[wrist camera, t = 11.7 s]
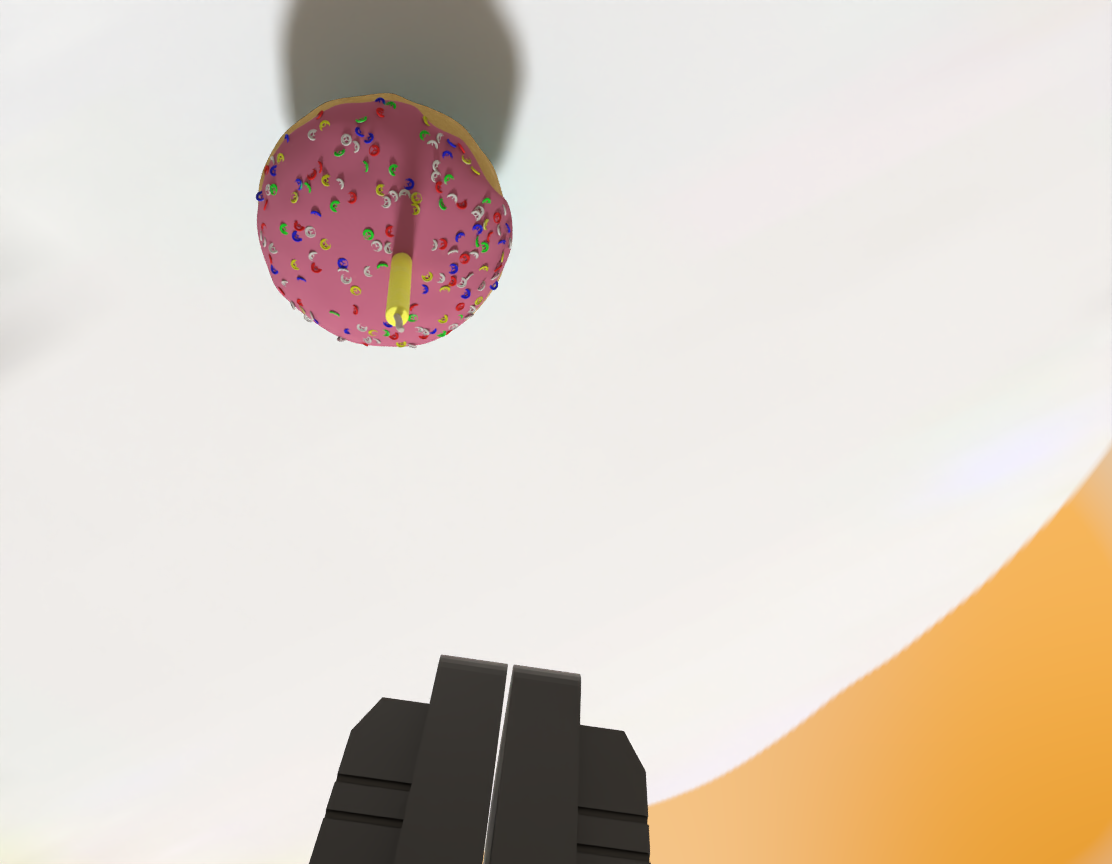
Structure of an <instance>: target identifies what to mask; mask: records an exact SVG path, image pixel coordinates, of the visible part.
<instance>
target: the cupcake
mask: <svg viewBox="0 0 1112 864" xmlns="http://www.w3.org/2000/svg"><path fill="white" fill-rule="evenodd" d="M256 199H257V200H258V213H257V229H258V236H259V241H260V245H261V249H262V252H263V255H264V258H265V261H266V264H267V266H268V269H269V272H270V275H271V278H272V280H273V283H274V285H275V286H276V288H277V289H278V291H279V292H280V293H281V294H282V295H283V296H284V297H285V298H286V299H287V300H288V301H289V302H290V303H291V306H292V308H293V309H294V310H295V307H296V308H297V309H298V310H300V311H301V312H302V313H303V314H304V319H305V320H306V321H308V322H312V321H314V322H315V323H316V324H318V325H319V326H321V327H323V328H324V329H326V330H327V331H329V332H331V333H333V334H334V335H336V336H338V338H337V340H338V341H339V342H343V341H345V340H348V341H351V342H354V343H359V344H364V345H365V346H368V345H373V346H392V347H404V346H409V347H412V348H416V346H415V345H421V344H425V343H428V342H431V341H433V340H436V339H438V338H440V337H443V336H445V335H447V334H449V333H450V332H451V331H452V330H454V329H456V328H457V327H458V326H460V325H461V324H462V323H463V322H465V321H466V320H467V319H468V318H470V317H472V316H473V315H474V313H475V312H476V311H477V310H478V308H479V307H480V306H481V305H482V304H483V303H484V301H485V300H486V299H487V297H488V296H489V295H490V293H491V292H492V290H495V289H496V288H497V287H498V281H499V279H500V277H501V274H502V271H503V268H504V266H505V263H506V261H507V258H508V256H509V253H510V250H511V247H512V218H511V212H510V208H509V206H508V203H507V201H506V200H505V199H504V197H503V195H502V191H501V187H500V184H499V181H498V178H497V174H496V172H495V169H494V167H493V166H492V164H491V162H490V161H489V159H488V158H487V157H486V155H485V154H484V153H483V152H482V150H481V149H480V148H479V146H478V145H477V143H476V142H475V141H474V139H473V138H472V137H471V135H470V134H469V133H468V131H467V130H466V129H465V128H464V127H463V126H462V125H460V124H459V123H458V122H456V121H455V120H453V119H452V118H450V117H449V116H447V115H445V114H443V113H440V112H438V111H436V110H433V109H431V108H429V107H427V106H424V105H420V104H417V103H414V102H412V101H409V100H407V99H405V98H403V97H401V96H398V95H395V94H391V93H379V94H371V95H364V96H356V97H348V98H341V99H336V100H332V101H329V102H326V103H324V104H322V105H320V106H319V107H317V108H316V109H314V110H313V111H311V112H310V113H309V114H307V115H306V116H305V117H303V118H302V119H301V120H299V121H298V122H297V123H295V124H294V125H293V126H291V127H290V128H289V129H288V130H287V131H286V132H285V133H284V134H283V135H282V137H281V138H280V139H279V141H278V142H277V144H276V145H275V147H274V149H273V151H272V153H271V154H270V156H269V158H268V160H267V162H266V165H265V167H264V170H263V172H262V176H261V179H260V184H259V192H258V193H257V194H256ZM306 316H307V317H306ZM308 318H309V319H311V320H309V319H308ZM340 339H342V340H340Z"/></svg>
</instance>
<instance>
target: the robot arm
mask: <svg viewBox="0 0 1112 864" xmlns="http://www.w3.org/2000/svg"><path fill="white" fill-rule="evenodd" d="M507 667H508V664H504V663H497V662H490V661H483V660H476V659H469V658H462V657H455V656H448V655H441V657H440V660H439V664H438V668H437V673H436V677H435V682H434V686H433V691H432V695H431V700H430V704H427V703H419V702H412V701H405V700H398V699H391V698H384V697H382V699H381V700H380V701H379V702H378V703H377V704H376V705H375V706H374V707H373V708H372V709H371V710H370V711H369V712H368V713H367V714H366V715H365V716H364V718H363V719H362V720H361V721H360V722H359V723H358V724H357V725H356V726H355V727H354V728H353V729H352V730H351V733H350V736H349V739H348V742H347V745H346V748H345V752H344V755H343V758H342V761H341V764H340V767H339V771H338V775H337V780H336V782H335V783H334V786H333V789H332V793H331V796H330V799H329V802H328V805H327V808H326V814H325V818H323V821H322V824H321V827H320V831H319V834H318V837H317V840H316V843H315V846H314V850H313V853H312V856H311V859H310V862H309V864H482V862H483V855H484V862H483V864H651V863H649V857H650V842H649V825H647V819H648V805H647V787H646V771H645V769H644V768H643V766H642V764H641V762H640V760H639V758H638V756H637V755H636V753H635V751H634V749H633V747H632V745H631V743H630V742H629V740H628V738H627V736H626V734H625V732H624V731H619V730H612V729H605V728H598V727H591V726H584V725H580V701H581V676H580V674H576V673H569V672H562V671H555V670H548V669H541V668H534V667H527V666H520V665H514V666H513V670H512V676H511V682H510V688H509V694H508V701H507V707H506V713H505V719H504V725H503V731H502V737H501V743H500V750H499V756H498V762H497V768H496V774H495V781H494V788H493V794H492V801H491V808H490V800H491V792H492V784H493V777H494V769H495V761H496V753H497V745H498V738H499V730H500V722H501V714H502V707H503V699H504V691H505V683H506V675H507ZM489 808H490V816H489ZM488 816H489V823H488ZM487 823H488V831H487ZM486 831H487V838H486ZM485 839H486V846H485ZM484 847H485V854H484Z"/></svg>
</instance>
